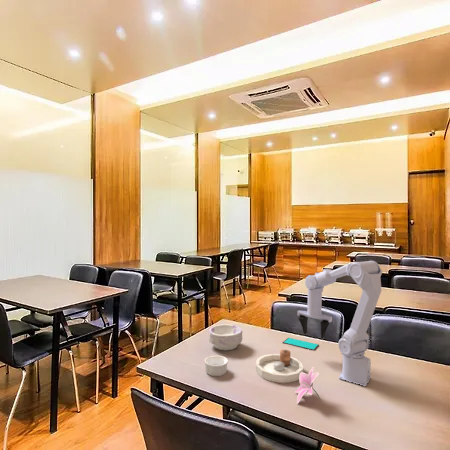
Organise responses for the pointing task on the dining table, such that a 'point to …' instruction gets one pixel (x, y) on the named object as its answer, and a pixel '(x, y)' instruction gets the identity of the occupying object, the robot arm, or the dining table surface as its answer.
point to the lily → (306, 384)
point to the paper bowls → (225, 336)
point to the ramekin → (216, 365)
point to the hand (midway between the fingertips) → (313, 335)
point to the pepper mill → (285, 357)
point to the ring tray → (275, 375)
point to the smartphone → (301, 344)
